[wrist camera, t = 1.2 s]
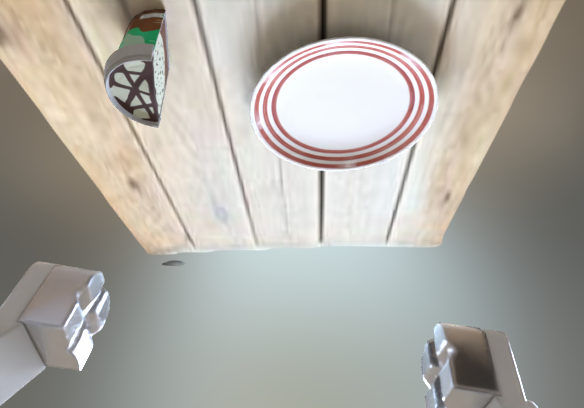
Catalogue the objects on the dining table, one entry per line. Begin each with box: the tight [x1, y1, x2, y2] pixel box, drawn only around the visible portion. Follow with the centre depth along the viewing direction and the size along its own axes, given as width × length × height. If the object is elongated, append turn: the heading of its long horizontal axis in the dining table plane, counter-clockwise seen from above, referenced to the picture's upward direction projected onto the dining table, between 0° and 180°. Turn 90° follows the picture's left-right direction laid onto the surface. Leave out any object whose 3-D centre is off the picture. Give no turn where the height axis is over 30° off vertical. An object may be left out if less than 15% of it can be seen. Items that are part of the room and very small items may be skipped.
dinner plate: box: [250, 36, 438, 171], centre depth 68 cm, size 28×27×3 cm
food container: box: [104, 9, 169, 128], centre depth 56 cm, size 12×6×10 cm, turn 170°
